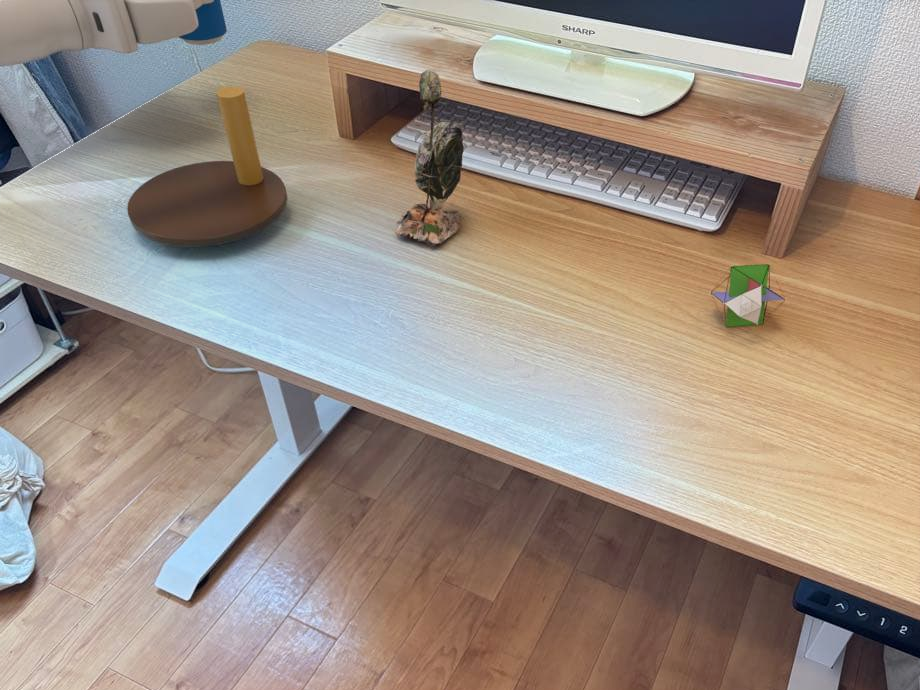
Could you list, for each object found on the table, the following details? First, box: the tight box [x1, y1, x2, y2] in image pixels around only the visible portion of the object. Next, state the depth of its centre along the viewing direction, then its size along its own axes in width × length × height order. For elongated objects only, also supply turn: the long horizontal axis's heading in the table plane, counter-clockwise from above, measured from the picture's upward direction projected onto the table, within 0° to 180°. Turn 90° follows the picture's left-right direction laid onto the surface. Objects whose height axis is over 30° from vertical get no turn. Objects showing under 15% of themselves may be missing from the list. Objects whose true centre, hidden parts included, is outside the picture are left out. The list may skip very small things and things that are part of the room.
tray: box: [126, 85, 288, 248], centre depth 91 cm, size 18×18×12 cm
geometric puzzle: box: [709, 263, 787, 328], centre depth 84 cm, size 7×7×8 cm
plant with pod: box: [394, 69, 465, 247], centre depth 91 cm, size 8×11×20 cm
